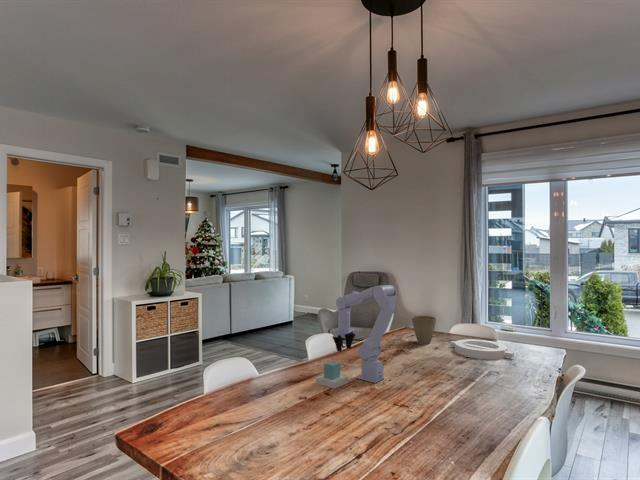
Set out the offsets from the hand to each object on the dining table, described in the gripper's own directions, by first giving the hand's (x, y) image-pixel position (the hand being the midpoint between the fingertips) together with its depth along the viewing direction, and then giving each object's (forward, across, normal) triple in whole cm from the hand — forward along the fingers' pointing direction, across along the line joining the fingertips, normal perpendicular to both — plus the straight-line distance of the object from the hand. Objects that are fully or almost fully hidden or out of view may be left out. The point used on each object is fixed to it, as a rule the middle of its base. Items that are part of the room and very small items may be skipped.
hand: (343, 349), depth 191 cm
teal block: (+7, +18, +7) cm, 21 cm away
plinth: (+10, +18, +7) cm, 22 cm away
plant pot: (+10, -80, +4) cm, 81 cm away
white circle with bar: (+10, -80, +39) cm, 90 cm away
